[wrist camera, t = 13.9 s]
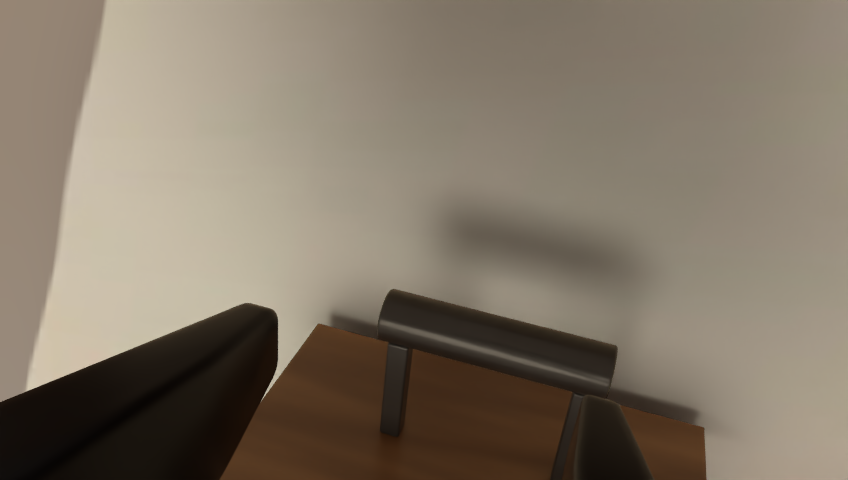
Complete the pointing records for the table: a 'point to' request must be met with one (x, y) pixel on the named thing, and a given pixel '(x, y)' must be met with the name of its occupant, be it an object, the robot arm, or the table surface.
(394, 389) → the drawer
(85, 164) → the table surface
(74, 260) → the table surface
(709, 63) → the table surface
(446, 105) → the table surface
